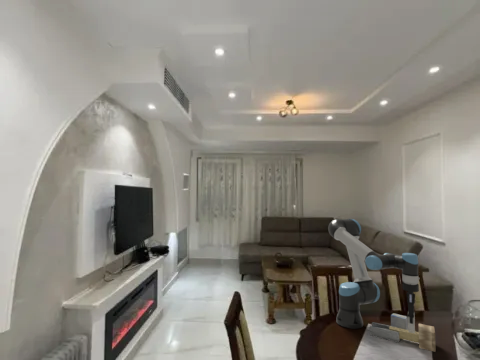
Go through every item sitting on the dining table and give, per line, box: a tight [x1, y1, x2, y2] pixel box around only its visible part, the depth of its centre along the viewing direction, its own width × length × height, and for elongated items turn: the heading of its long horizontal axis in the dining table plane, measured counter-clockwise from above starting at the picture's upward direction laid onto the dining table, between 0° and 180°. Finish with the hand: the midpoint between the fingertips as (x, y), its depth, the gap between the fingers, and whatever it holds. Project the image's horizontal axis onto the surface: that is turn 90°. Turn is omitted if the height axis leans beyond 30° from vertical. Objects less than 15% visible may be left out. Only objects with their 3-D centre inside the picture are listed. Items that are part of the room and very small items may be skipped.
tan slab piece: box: [389, 312, 419, 344], centre depth 156 cm, size 18×4×14 cm, turn 59°
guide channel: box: [369, 321, 401, 343], centre depth 161 cm, size 14×7×5 cm, turn 59°
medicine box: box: [390, 313, 408, 330], centre depth 168 cm, size 8×4×9 cm, turn 47°
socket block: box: [418, 323, 436, 353], centre depth 151 cm, size 7×9×9 cm
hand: (411, 327), depth 155 cm, fingers closed on tan slab piece, 3 cm apart
